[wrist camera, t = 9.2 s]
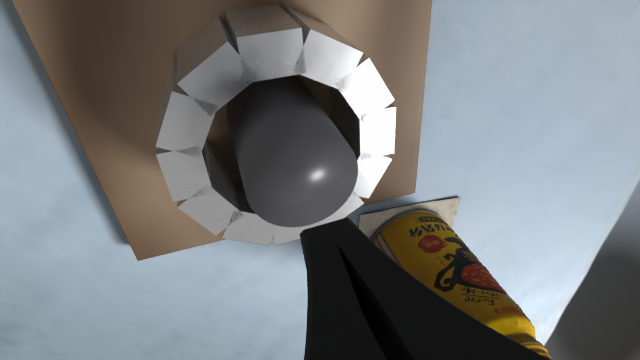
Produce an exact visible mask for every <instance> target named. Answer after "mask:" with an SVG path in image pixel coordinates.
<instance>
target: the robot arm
mask: <svg viewBox="0 0 640 360" xmlns="http://www.w3.org/2000/svg"><path fill="white" fill-rule="evenodd" d="M300 239H301V244H302V249H303V254H304V259H305V264H306V269H307V287H308V309H307V332H306V345H305V356H304V360H551V359H549V358H546V357H544V356H542V355H540V354H539V353H537V352H535V351H533V350H531V349H529V348H527V347H525V346H523V345H522V344H520V343H518V342H516V341H514V340H512V339H510V338H508V337H507V336H505V335H503V334H501V333H499V332H497V331H495V330H494V329H492V328H490V327H489V326H487V325H485V324H484V323H482V322H480V321H479V320H477V319H475V318H474V317H472V316H470V315H469V314H467V313H466V312H464V311H462V310H461V309H459V308H458V307H456V306H455V305H453V304H452V303H450V302H449V301H447V300H446V299H444V298H443V297H441V296H440V295H439V294H437V293H436V292H434V291H433V290H432V289H430V288H429V287H427V286H426V285H425V284H423V283H422V282H421V281H419V280H418V279H417V278H415V277H414V276H413V275H412V274H410V273H409V272H408V271H407V270H405V269H404V268H403V267H402V266H400V265H399V264H398V263H397V262H396V261H394V260H393V259H392V258H391V257H390V256H388V255H387V254H386V253H385V252H384V251H383V250H382V249H380V248H379V247H378V246H377V245H376V244H375V243H374V242H373V241H372V240H371V239H370V238H368V237H367V236H366V235H365V234H364V233H363V232H362V231H361V230H360V229H359V228H358V227H357V226H356V225H355V224H354V223H353V222H352V221H351V220H350V219H349V218H347V217H346V218H343V219H339V220H336V221H332V222H329V223H325V224H322V225H319V226H315V227H312V228H308V229H305V230H303V231H302V232H301V233H300Z"/></svg>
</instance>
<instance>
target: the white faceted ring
mask: <svg viewBox="0 0 640 360" xmlns="http://www.w3.org/2000/svg"><path fill="white" fill-rule="evenodd" d="M225 15H226V20H227V25H228V26H227V25H226V24H225V23H224V21H223V20H222V19H221V18H220V17H219V15H216V16H215V17H214V18H213V19H212V20H210V21H209V22H208V23H207V24H206V25H205V26H203V27H202V28H201V29H200V30H199V31H198V32H196V33H195V34H194V35H193V36H192V37H190V38H189V39H188V40H187V41H186V42H185V43H183V44H182V45H181V46H180V47H179V48H177V56H176V55H173V58H172V62H171V65H170V69H169V72H168V76H167V79H166V83H165V86H164V90H163V93H162V97H161V100H160V107H159V117H158V127H157V137H156V156H157V159H158V162H159V165H160V167H161V170H162V173H163V176H164V178H165V181H166V184H167V187H168V189H169V192H170V195H171V198H172V200H173V202H175V201H177V208H179V209H180V210H181V211H183V212H184V213H186V214H187V215H188V216H190V217H191V218H192V219H194V220H195V221H196V222H198V223H199V224H201V225H202V226H203V227H205V228H206V229H207V230H209V231H210V232H211V233H213V234H214V235H217V234H219V233H220V232H221V234H222V238H224V239H231V240H237V241H244V242H250V243H257V244H263V245H269V244H270V242H271V240H272V238H274V242H275V245H277V244H281V243H285V242H289V241H293V240H297V239H300V233H301V232H302V231H303V230H305V229H308V228H312V227H315V226H319V225H320V224H321V225H322V224H325V223H329V222H332V221H336V220H339V219H343V218H345V217H346V216H348V215H349V214H350V213H352V212H353V211H354V210H356V209H357V208H359V207H360V206H361V205H363V204H364V202H363V201H362V199H361V197H364V198H368V199H369V197H370V195H371V194H372V192H373V190H374V189H375V187H376V185H377V184H378V182H379V180H380V179H381V177H382V175H383V174H384V172H385V170H386V168H387V167H388V165H389V163H390V162H391V160H392V159H391V157H390V156H389V155H388V154H391V153H394V141H395V119H396V106H395V105H393V104H392V102H393V101H394V99H393V97H392V95H391V94H390V92H389V90H388V89H387V87H386V85H385V83H384V82H383V80H382V78H381V77H380V75H379V73H378V72H377V70H376V68H375V67H374V65H373V63H372V62H371V60H370V58H369V57H368V56H366V55H365V54H364V53H363V52H362V51H361V50H359V49H358V48H357V47H356V46H354V45H353V44H352V43H350V42H349V41H348V40H347V39H345V38H344V37H343V36H342V35H340V34H339V33H338V32H336V31H335V30H334V29H333V28H331V27H330V26H328V25H326V24H324V23H322V22H320V21H318V20H316V19H313V18H311V17H309V16H307V15H305V14H303V13H300V12H298V11H296V10H294V9H292V8H290V7H287V6H285V5H284V8H283V9H282V8H281V7H280V6H279V5H278V4H274V5H267V6H260V7H252V8H245V9H238V10H230V11H225ZM297 74H300V75H302V76H305V77H308V78H310V79H313V80H315V81H318V82H321V83H323V84H326V85H329V95H330V112H331V115H330V117H329V118H330V119H331V121H332V122H333V123H334V125H335V126H336V128H337V129H338V130H339V132H340V133H341V134H342V136H343V137H344V139H345V140H346V141H347V143H348V144H349V145H350V147H351V148H352V150H353V152H354V154H355V156H356V159H357V163H358V177H357V182H356V185H355V187H354V190H353V192H352V194H351V195H350V197H349V198H348V200H347V201H346V202H345V203H344V205H343V206H342V207H341V208H340V209H339V210H337V211H336V212H335V213H334V214H332V215H331V216H329V217H327V218H326V219H324V220H322V221H320V222H317V223H315V224H311V225H308V226H303V227H281V226H277V225H274V224H271V223H268V222H267V221H265V220H263V219H262V218H260V217H259V216H258V215H257V214H256V213H255V212H254V211H253V210H252V208H251V207H250V205H249V203H248V201H247V198H246V195H245V191H244V187H243V182H242V178H241V174H240V170H239V166H238V163H235V162H231V161H229V160H228V159H227V158H226V157H225V156H224V155H223V154H222V153H221V152H219V151H218V150H217V149H216V148H215V147H214V146H213V145H212V144H211V143H210V142H209V141H208V140H206V138H207V135H208V132H209V129H210V127H211V124H212V121H213V118H214V115H215V113H216V111H217V110H219V109H220V108H221V107H222V106H224V105H225V104H226V103H227V102H229V101H230V100H231V99H232V98H233V97H235V96H236V95H237V94H238V93H240V92H241V91H242V90H243V89H245V88H246V87H247V86H248V85H250V84H251V83H252V82H257V81H262V80H268V79H274V78H280V77H286V76H291V75H297Z"/></svg>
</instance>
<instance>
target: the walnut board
mask: <svg viewBox="0 0 640 360" xmlns="http://www.w3.org/2000/svg"><path fill="white" fill-rule="evenodd" d="M12 2H13V4H14V6H15V8H16V10H17V13H18V15H19V17H20V19H21V21H22V23H23V25H24V27H25V29H26V31H27V33H28V35H29V37H30V39H31V41H32V43H33V46H34V48H35V50H36V52H37V54H38V56H39V58H40V60H41V62H42V64H43V66H44V68H45V70H46V72H47V74H48V76H49V79H50V81H51V83H52V85H53V87H54V89H55V91H56V93H57V95H58V97H59V99H60V101H61V103H62V105H63V107H64V110H65V112H66V114H67V116H68V118H69V120H70V122H71V124H72V126H73V128H74V130H75V132H76V134H77V136H78V138H79V140H80V143H81V145H82V147H83V149H84V151H85V153H86V155H87V157H88V159H89V161H90V163H91V165H92V167H93V169H94V171H95V173H96V176H97V178H98V180H99V182H100V184H101V186H102V188H103V190H104V192H105V194H106V196H107V198H108V200H109V202H110V204H111V207H112V209H113V211H114V213H115V215H116V217H117V219H118V221H119V223H120V225H121V227H122V229H123V231H124V233H125V235H126V237H127V240H128V242H129V244H130V246H131V248H132V250H133V252H134V254H135V256H136V258H137V260H138V261H139V260H143V259H147V258H151V257H155V256H160V255H164V254H168V253H172V252H176V251H180V250H184V249H188V248H192V247H196V246H200V245H204V244H208V243H212V242H217V241H221V240H225V239H224V238H222V234H221V232H220V233H219V234H217V235H214V234H213V233H211V232H210V231H209V230H207V229H206V228H205V227H203V226H202V225H201V224H199V223H198V222H196V221H195V220H194V219H192V218H191V217H190V216H188V215H187V214H186V213H184V212H183V211H181V210H180V209H179V208H177V201H175V202H173V200H172V198H171V195H170V192H169V189H168V187H167V184H166V181H165V178H164V176H163V173H162V170H161V167H160V165H159V162H158V159H157V156H156V137H157V127H158V117H159V107H160V100H161V97H162V93H163V90H164V86H165V83H166V79H167V76H168V72H169V69H170V65H171V62H172V58H173V55H176V56H177V48H179V47H180V46H181V45H182V44H183V43H185V42H186V41H187V40H188V39H189V38H190V37H192V36H193V35H194V34H195V33H196V32H198V31H199V30H200V29H201V28H202V27H203V26H205V25H206V24H207V23H208V22H209V21H210V20H212V19H213V18H214V17H215V16H216V15H219V17H220V18H221V19H222V20H223V21H224V23H225V24H226V25H227V20H226V15H225V11H230V10H238V9H245V8H252V7H260V6H267V5H274V4H278V5H279V6H280V7H281V8H282V9H283V8H284V5H285V6H287V7H290V8H292V9H294V10H296V11H298V12H300V13H303V14H305V15H307V16H309V17H311V18H313V19H316V20H318V21H320V22H322V23H324V24H326V25H328V26H330V27H331V28H333V29H334V30H335V31H336V32H338V33H339V34H340V35H342V36H343V37H344V38H345V39H347V40H348V41H349V42H350V43H352V44H353V45H354V46H356V47H357V48H358V49H359V50H361V51H362V52H363V53H364V54H365V55H366V56H368V57H369V58H370V60H371V62H372V63H373V65H374V67H375V68H376V70H377V72H378V73H379V75H380V77H381V78H382V80H383V82H384V83H385V85H386V87H387V89H388V90H389V92H390V94H391V95H392V97H393V99H394V101H393V102H392V104H393V105H395V106H396V119H395V141H394V153H391V154H388V155H389V156H390V157H391V159H392V160H391V162H390V163H389V165H388V167H387V168H386V170H385V172H384V174H383V175H382V177H381V179H380V180H379V182H378V184H377V185H376V187H375V189H374V190H373V192H372V194H371V195H370V197H369V199H368V198H364V197H361V199H362V201H363V202H364V204H363V205H367V204H371V203H375V202H379V201H383V200H387V199H392V198H396V197H400V196H404V195H408V194H412V193H415V188H416V177H417V165H418V154H419V143H420V131H421V120H422V109H423V98H424V86H425V75H426V64H427V52H428V41H429V30H430V19H431V7H432V0H12ZM227 26H228V25H227ZM295 76H297V77H298V78H299V79H300V80H302V82H303V83H304V84H305V85H306V87H307V88H308V89H309V91H310V92H311V93H312V95H313V96H314V97H315V99H316V100H317V102H318V103H319V104H320V106H321V107H322V108H323V110H324V111H325V113H326V114H327V115H328V117H330V115H331V112H330V95H329V85H326V84H323V83H321V82H318V81H315V80H313V79H310V78H308V77H305V76H302V75H300V74H297V75H295ZM206 140H208V141H209V142H210V143H211V144H212V145H213V146H214V147H215V148H216V149H217V150H218V151H219V152H221V153H222V154H223V155H224V156H225V157H226V158H227V159H228V160H229V161H231V162H235V163H238V162H237V157H236V153H235V149H234V145H233V141H232V137H231V132H230V128H229V124H228V120H227V103H226V104H225V105H224V106H222V107H221V108H220V109H219V110H217V111H216V113H215V115H214V118H213V121H212V124H211V127H210V129H209V132H208V135H207V138H206ZM363 205H361V206H363Z"/></svg>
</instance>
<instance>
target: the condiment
mask: <svg viewBox="0 0 640 360" xmlns="http://www.w3.org/2000/svg"><path fill="white" fill-rule="evenodd" d="M460 199H461V197H459V198H452V199H447V200H440V201H432V202H426V203H419V204H413V205H409V206H403V207H398V208H392V209H389V210H384V211H381V212H375V213H370V214H363V215H360V221H359V229H360V230H361V231H362V232H363V233H364V234H365V235H366V236H367V237H368V238H370V239H371V240H372V241H373V242H374V243H375V244H376V245H377V246H378V247H379V248H380V249H382V250H383V251H384V252H385V253H386V254H387V255H388V256H390V257H391V258H392V259H393V260H394V261H396V262H397V263H398V264H399V265H400V266H402V267H403V268H404V269H405V270H407V271H408V272H409V273H410V274H412V275H413V276H414V277H415V278H417V279H418V280H419V281H421V282H422V283H423V284H425V285H426V286H427V287H429V288H430V289H432V290H433V291H434V292H436V293H437V294H439V295H440V296H441V297H443V298H444V299H446V300H447V301H449V302H450V303H452V304H453V305H455V306H456V307H458V308H459V309H461V310H462V311H464V312H466V313H467V314H469V315H470V316H472V317H474V318H475V319H477V320H479V321H480V322H482V323H484V324H485V325H487V326H489V327H490V328H492V329H494V330H495V331H497V332H499V333H501V334H503V335H505V336H507V337H508V338H510V339H512V340H514V341H516V342H518V343H520V344H522V345H523V346H525V347H527V348H529V349H531V350H533V351H535V352H537V353H539V354H540V355H542V356H544V357H546V358H549V359H551V357H550V355H549V354H548V352H547V350H546V348H545V347H544V346H543V345H542V344H541V343H540V342H538V341H536V339H535V338H536V337H535V329H534V326H533V325H532V323H531V321H530V320H529V319H528V318H527V316H526V315H525V314H524V313H523V311H522V309H521V308H520V307H519V306H518V305H517V304H516V303H515V302H514V301H513V300H512V299H511V298H510V297H509V295H508V294H507V293H506V292H505V291H504V289H503V288H502V287H501V286H500V285H499V283H498V282H497V281H496V280H495V279H494V278H493V277H492V275H491V274H490V273H489V271H488V270H487V268H486V267H484V266H483V265H482V263H480V262H479V260H478V259H477V257H476V256H475V255H474V254H473V253H472V252H471V251H470V250H469V248H468V247H467V246H466V245H465V243H464V242H463V241H462V240H461V239H460V238H459V237H458V235H457V234H455V232H454V231H453V230H452V225H453V221H454V217H455V215H456V211H457V207H458V204H459V201H460ZM551 360H552V359H551Z"/></svg>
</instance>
